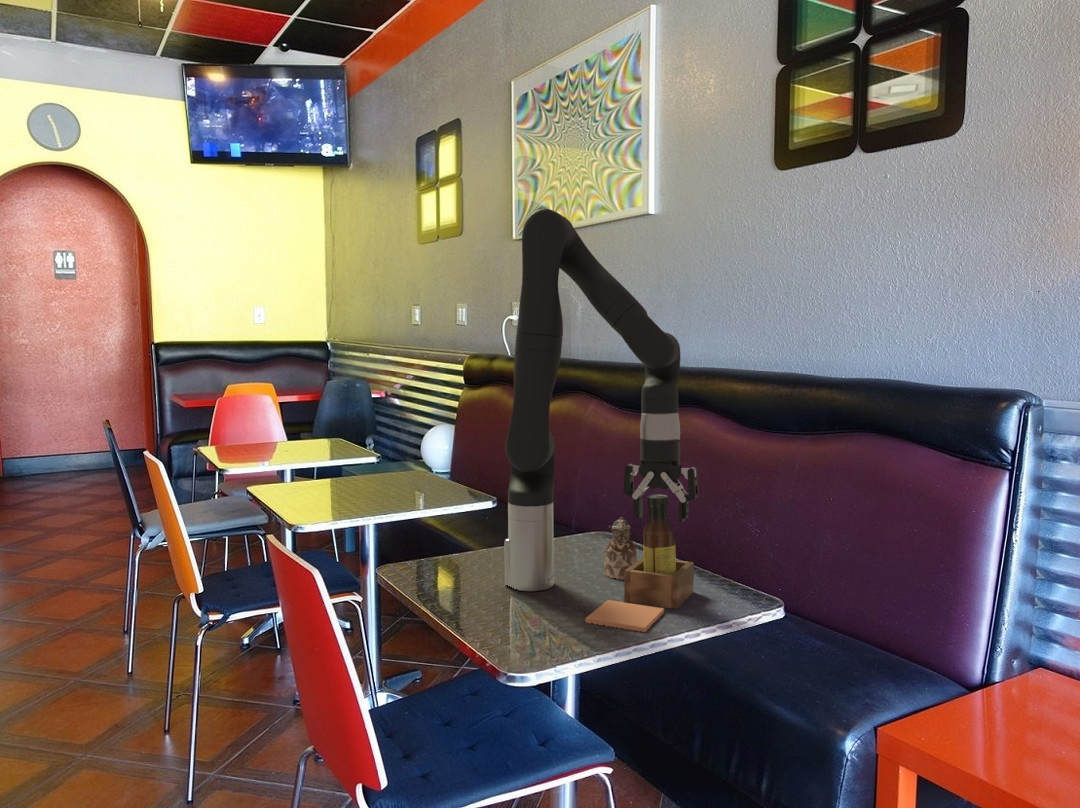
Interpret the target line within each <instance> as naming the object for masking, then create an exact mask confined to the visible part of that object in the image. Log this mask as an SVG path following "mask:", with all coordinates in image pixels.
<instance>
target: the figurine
mask: <svg viewBox="0 0 1080 808" xmlns="http://www.w3.org/2000/svg"><path fill="white" fill-rule="evenodd" d="M611 535H612V536H611V537H612V538H611V539H610V540H609V542H608V543H607V544H606V550H605V560H604V566H603V571H604V573H603V574H604V576H606V575H607V576H606V577H608V576H609V577H608V578H610V577H611V579H612V578H616V579H615V580H624V571H625V570H626V569H627V568H629V567H630V566H631V565H633V564H634V563H635V562H637V561H638V553H637V547H636V545H635V543H634V541H633V540H632V539H631V525H630V524H629V522H628V521H627V520H625V517H622V516H620V517H619V518H618V519H616V520H615V521H614V522H613V524H612V526H611Z"/></svg>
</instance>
